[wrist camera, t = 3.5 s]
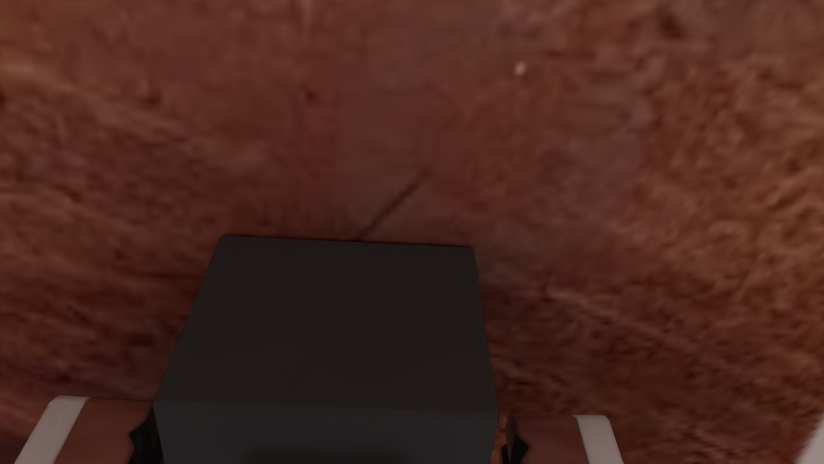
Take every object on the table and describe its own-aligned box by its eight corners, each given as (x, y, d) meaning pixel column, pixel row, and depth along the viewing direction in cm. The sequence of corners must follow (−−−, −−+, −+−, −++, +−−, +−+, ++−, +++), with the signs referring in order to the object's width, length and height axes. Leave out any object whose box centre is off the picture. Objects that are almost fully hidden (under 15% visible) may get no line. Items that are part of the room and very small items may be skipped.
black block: (474, 245, 11) (504, 437, 8) (445, 452, 14) (457, 657, 10) (218, 233, 11) (141, 424, 7) (242, 445, 13) (192, 651, 10)
